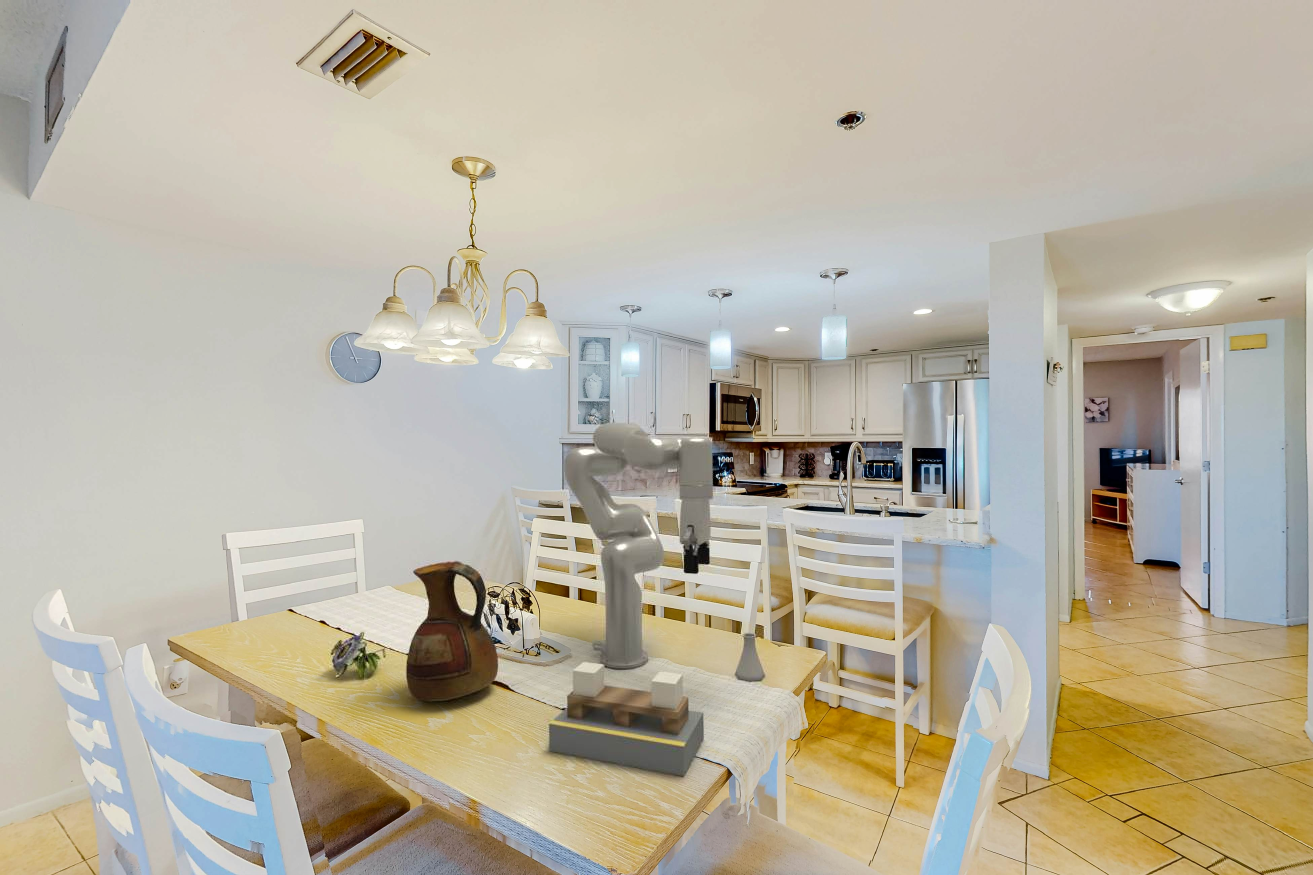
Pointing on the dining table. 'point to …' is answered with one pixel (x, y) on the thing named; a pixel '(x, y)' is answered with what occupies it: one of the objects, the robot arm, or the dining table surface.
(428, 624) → the ceramic pitcher
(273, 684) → the dining table surface
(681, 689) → the block
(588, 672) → the block
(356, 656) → the passion flower
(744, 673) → the flask
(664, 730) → the pallet
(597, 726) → the block
